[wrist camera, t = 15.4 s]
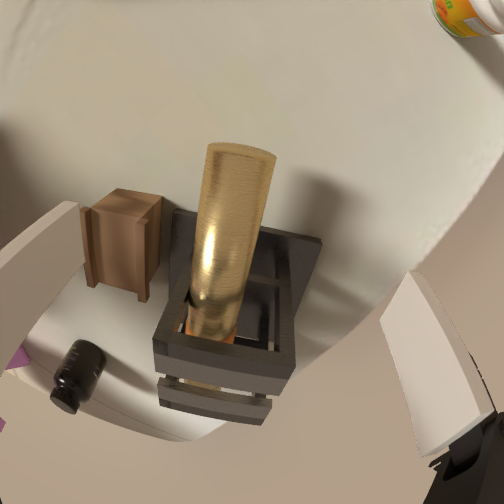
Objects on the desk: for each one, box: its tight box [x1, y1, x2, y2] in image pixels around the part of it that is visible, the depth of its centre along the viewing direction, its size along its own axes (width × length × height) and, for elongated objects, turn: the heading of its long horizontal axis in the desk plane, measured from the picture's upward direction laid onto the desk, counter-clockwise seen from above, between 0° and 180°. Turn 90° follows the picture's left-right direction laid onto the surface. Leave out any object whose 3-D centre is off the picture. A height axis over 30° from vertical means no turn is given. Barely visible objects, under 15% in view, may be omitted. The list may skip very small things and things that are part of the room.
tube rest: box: [80, 188, 162, 303], centre depth 25 cm, size 6×8×6 cm
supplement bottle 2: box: [431, 0, 504, 38], centre depth 9 cm, size 5×5×10 cm
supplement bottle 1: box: [50, 340, 106, 414], centre depth 35 cm, size 7×7×12 cm
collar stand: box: [152, 209, 322, 426], centre depth 24 cm, size 14×14×13 cm
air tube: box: [184, 143, 277, 391], centre depth 22 cm, size 24×4×4 cm
